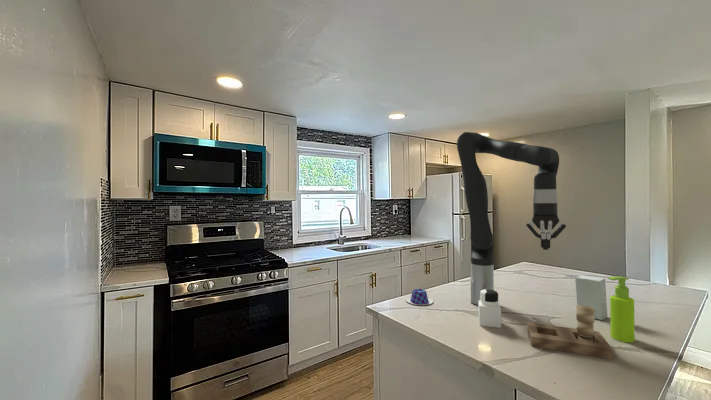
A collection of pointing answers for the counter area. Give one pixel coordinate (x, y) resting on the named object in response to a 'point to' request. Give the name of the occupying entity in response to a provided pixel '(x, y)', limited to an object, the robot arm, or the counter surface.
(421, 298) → the pudding
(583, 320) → the peg
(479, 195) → the robot arm
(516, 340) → the counter surface
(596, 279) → the skincare box
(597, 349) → the board
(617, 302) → the soap dispenser
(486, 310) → the medicine bottle
